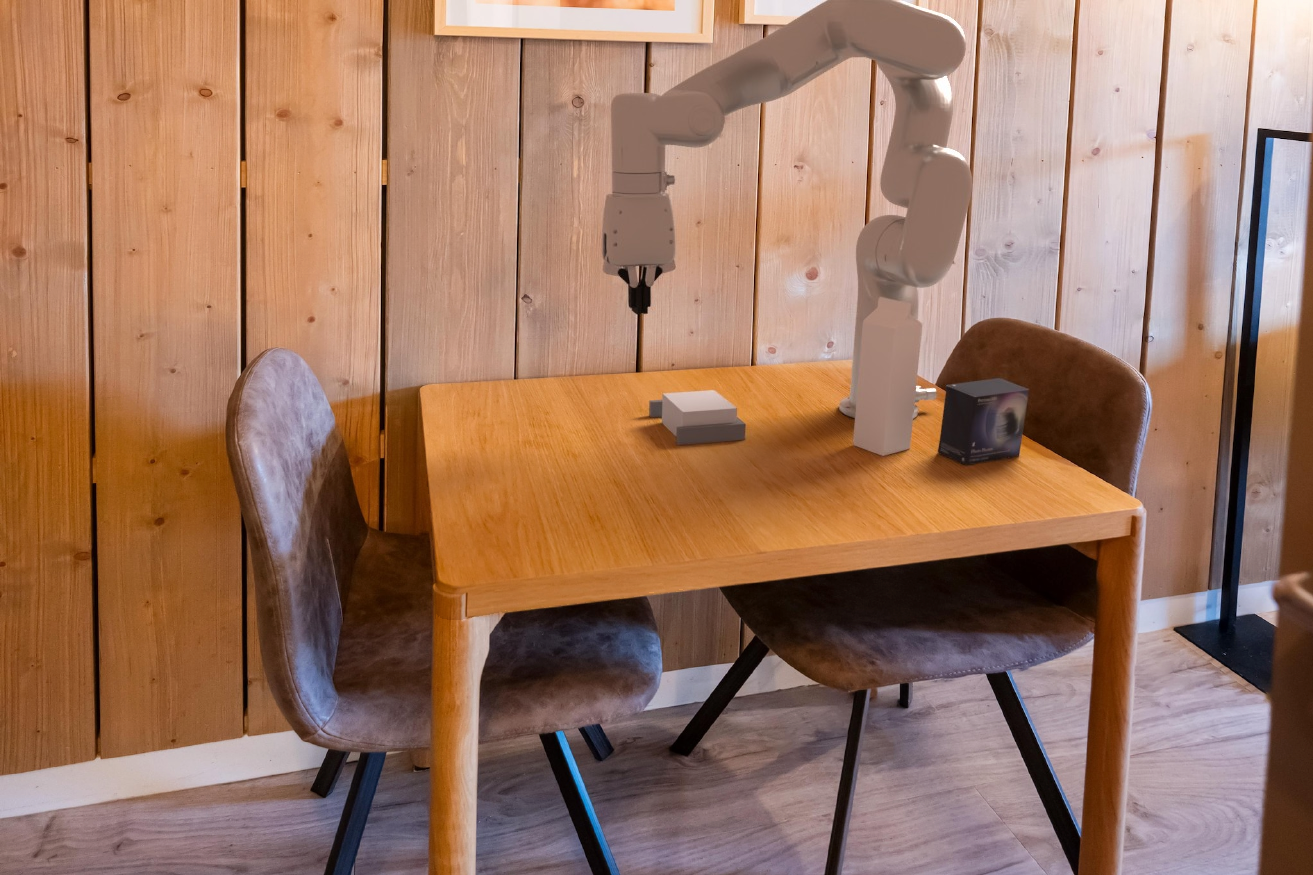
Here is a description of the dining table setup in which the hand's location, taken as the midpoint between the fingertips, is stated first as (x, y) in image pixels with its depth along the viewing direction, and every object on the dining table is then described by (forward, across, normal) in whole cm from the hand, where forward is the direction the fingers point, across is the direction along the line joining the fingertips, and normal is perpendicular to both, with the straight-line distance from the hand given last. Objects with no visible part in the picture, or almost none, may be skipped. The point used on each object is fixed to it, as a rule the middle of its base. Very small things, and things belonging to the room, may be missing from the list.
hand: (639, 312), depth 157 cm
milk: (+19, -33, +16) cm, 41 cm away
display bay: (+19, -9, 0) cm, 21 cm away
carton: (+19, -9, +1) cm, 21 cm away
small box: (+20, -45, +22) cm, 54 cm away
